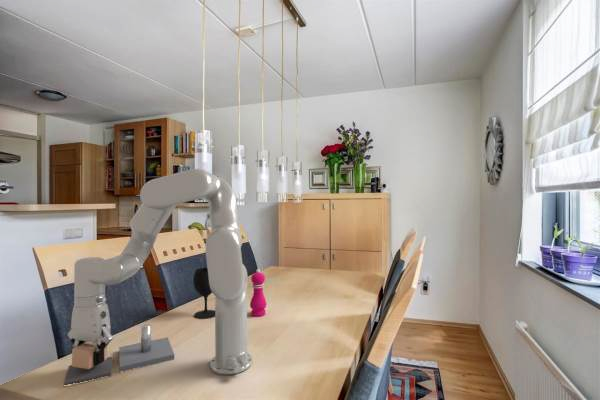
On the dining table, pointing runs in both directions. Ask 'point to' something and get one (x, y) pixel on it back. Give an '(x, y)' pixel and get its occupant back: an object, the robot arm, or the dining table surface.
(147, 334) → the post
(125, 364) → the stand
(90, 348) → the tan slotted box
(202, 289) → the wine glass
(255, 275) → the pepper mill
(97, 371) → the pad
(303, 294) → the dining table surface
